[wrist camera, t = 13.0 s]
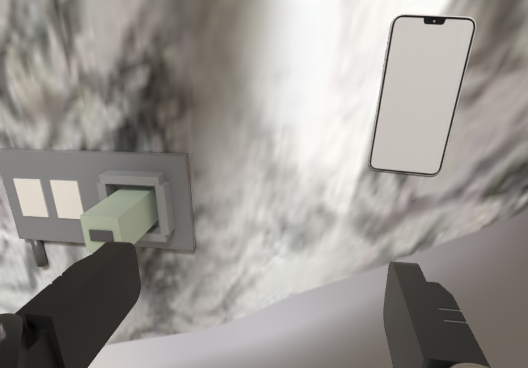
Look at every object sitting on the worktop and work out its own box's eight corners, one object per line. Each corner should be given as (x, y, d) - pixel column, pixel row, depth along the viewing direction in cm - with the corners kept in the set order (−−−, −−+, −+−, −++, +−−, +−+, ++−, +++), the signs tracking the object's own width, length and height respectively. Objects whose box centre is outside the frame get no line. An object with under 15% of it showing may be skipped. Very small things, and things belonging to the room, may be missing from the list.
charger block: (122, 187, 42) (78, 216, 35) (154, 188, 42) (116, 219, 34) (127, 217, 44) (85, 252, 36) (158, 219, 43) (122, 255, 35)
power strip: (1, 148, 44) (-19, 154, 42) (187, 153, 40) (178, 160, 38) (32, 260, 50) (16, 272, 47) (198, 273, 46) (191, 287, 43)
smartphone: (366, 169, 38) (392, 13, 32) (366, 167, 38) (391, 14, 33) (440, 177, 37) (479, 17, 31) (438, 175, 37) (476, 17, 32)
